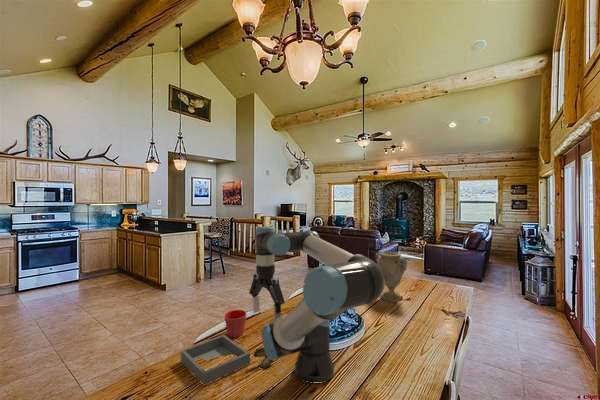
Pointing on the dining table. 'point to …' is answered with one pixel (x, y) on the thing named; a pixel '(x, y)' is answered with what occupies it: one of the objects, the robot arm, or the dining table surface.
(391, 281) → the urn
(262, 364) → the eagle figurine
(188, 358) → the tray
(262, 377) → the dining table surface
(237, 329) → the flower pot
